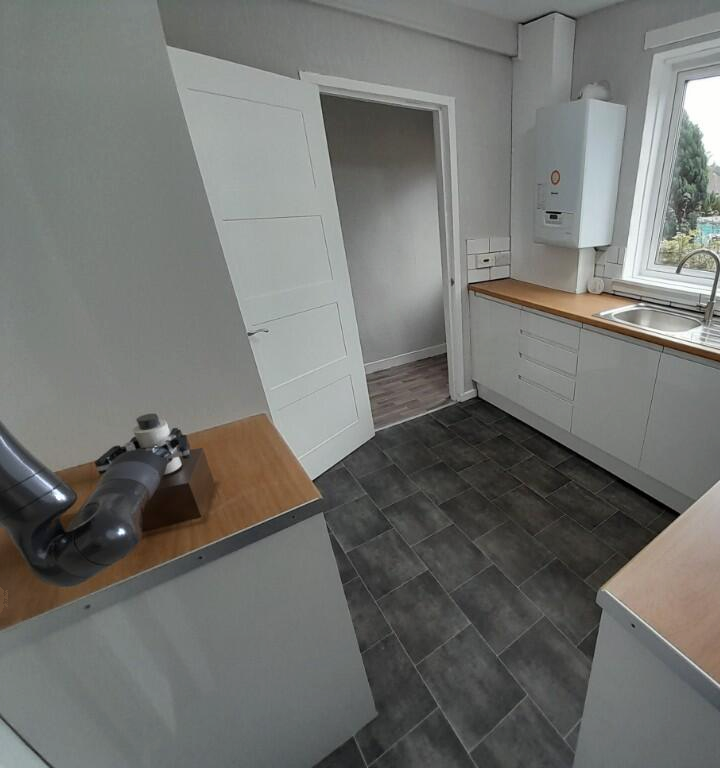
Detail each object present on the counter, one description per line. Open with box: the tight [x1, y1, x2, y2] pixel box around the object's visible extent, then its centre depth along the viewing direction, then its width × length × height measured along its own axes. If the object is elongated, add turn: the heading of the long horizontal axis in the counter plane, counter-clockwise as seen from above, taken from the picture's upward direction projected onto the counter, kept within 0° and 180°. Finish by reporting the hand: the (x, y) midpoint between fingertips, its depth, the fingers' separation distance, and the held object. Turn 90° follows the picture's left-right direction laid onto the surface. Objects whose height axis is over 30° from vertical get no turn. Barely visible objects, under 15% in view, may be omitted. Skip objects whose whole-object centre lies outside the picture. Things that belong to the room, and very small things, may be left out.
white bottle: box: [132, 413, 182, 475], centre depth 82 cm, size 5×5×12 cm
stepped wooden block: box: [64, 447, 215, 533], centre depth 84 cm, size 22×14×10 cm, turn 115°
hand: (159, 434), depth 84 cm, fingers closed on white bottle, 5 cm apart
